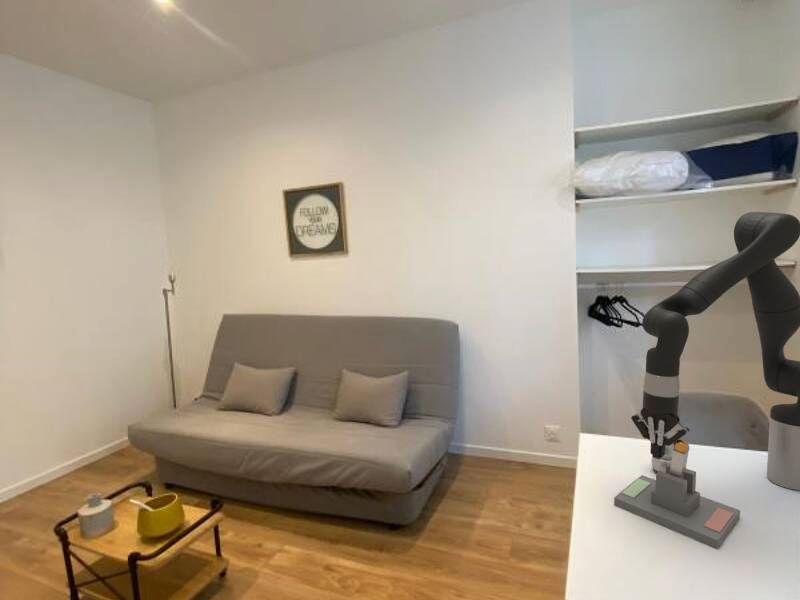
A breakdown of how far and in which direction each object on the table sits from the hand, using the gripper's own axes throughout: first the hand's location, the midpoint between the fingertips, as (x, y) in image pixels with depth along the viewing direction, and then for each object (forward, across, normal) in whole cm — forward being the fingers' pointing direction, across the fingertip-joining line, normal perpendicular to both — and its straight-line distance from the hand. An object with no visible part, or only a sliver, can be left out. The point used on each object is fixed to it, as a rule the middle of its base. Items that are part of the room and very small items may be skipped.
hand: (657, 457), depth 109 cm
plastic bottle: (+12, +5, -18) cm, 22 cm away
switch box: (+12, -5, 0) cm, 13 cm away
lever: (+6, -4, 0) cm, 8 cm away
